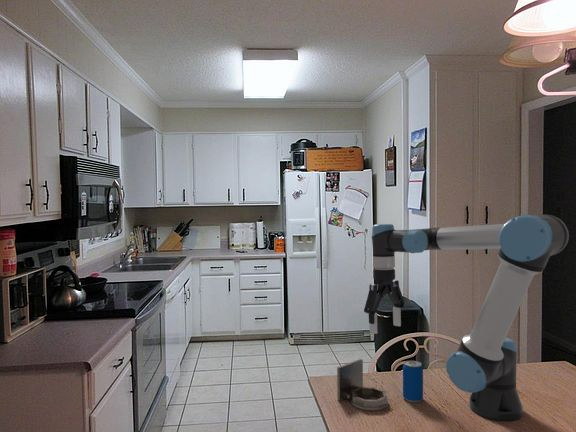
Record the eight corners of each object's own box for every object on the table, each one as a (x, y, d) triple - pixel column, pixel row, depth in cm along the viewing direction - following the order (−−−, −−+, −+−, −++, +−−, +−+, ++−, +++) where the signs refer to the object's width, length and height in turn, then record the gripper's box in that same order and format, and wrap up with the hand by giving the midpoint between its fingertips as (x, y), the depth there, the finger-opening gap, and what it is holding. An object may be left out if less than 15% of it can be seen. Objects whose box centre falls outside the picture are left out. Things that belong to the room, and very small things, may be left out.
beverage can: (421, 395, 153) (420, 360, 153) (424, 403, 147) (424, 367, 147) (401, 394, 154) (401, 359, 154) (404, 403, 147) (404, 366, 147)
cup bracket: (395, 403, 147) (395, 369, 147) (372, 414, 139) (372, 379, 139) (360, 390, 158) (360, 358, 158) (337, 400, 150) (337, 367, 150)
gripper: (395, 264, 168) (397, 321, 168) (352, 271, 152) (354, 334, 152) (413, 265, 163) (415, 324, 163) (370, 272, 146) (372, 338, 146)
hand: (385, 329), depth 157 cm, fingers open, 13 cm apart
